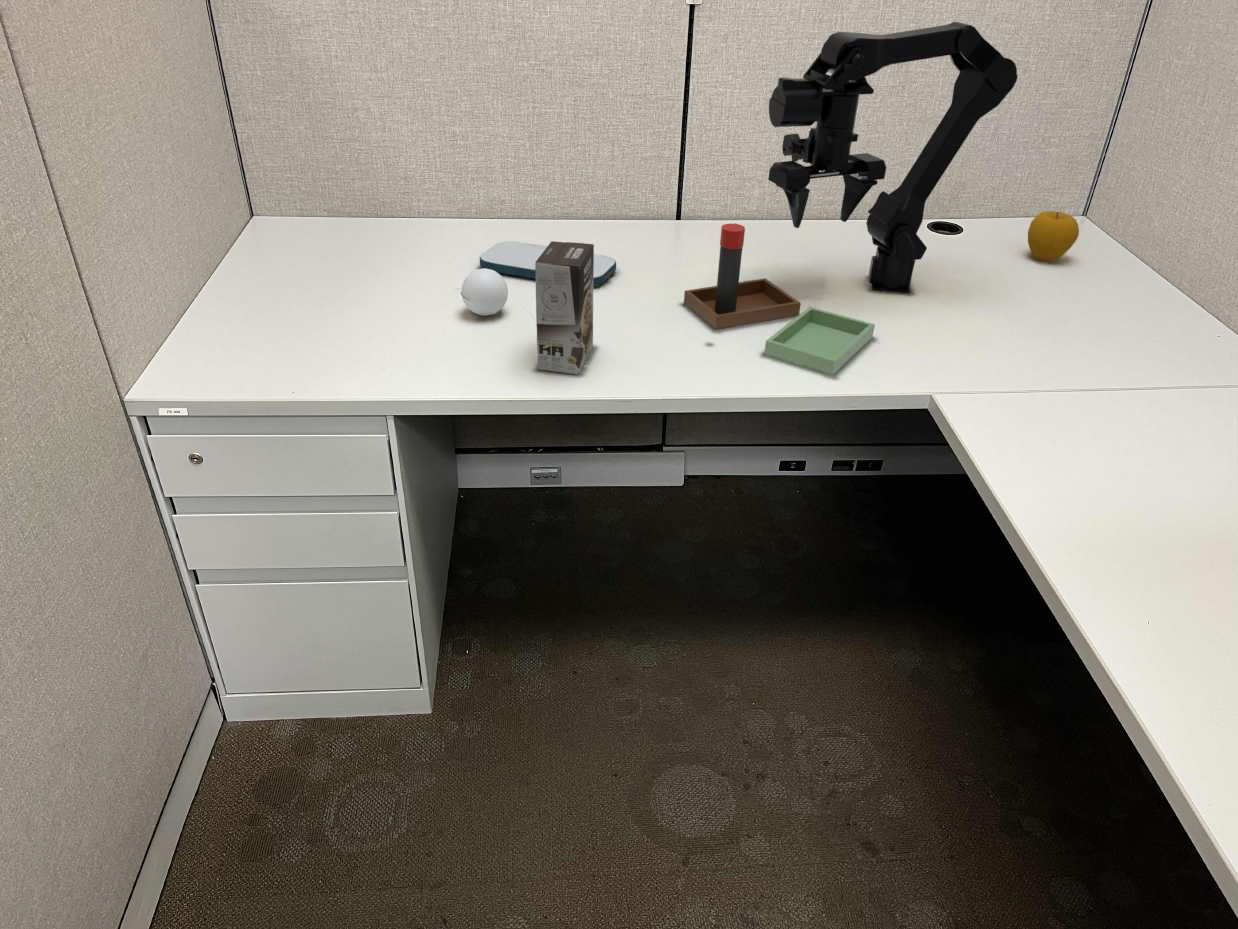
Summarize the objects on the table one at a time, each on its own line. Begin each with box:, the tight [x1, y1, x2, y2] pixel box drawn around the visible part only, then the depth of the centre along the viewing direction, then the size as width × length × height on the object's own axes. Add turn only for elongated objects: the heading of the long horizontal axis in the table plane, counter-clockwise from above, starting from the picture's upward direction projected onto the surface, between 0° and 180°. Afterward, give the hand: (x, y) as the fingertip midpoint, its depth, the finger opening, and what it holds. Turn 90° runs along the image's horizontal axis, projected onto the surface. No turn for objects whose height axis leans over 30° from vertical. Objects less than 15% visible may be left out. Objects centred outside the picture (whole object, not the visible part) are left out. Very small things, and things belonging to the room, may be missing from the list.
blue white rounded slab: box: [479, 241, 617, 287], centre depth 156 cm, size 24×12×2 cm, turn 70°
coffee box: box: [535, 240, 595, 375], centre depth 123 cm, size 9×6×16 cm
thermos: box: [715, 223, 746, 315], centre depth 138 cm, size 4×4×14 cm
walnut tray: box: [683, 277, 802, 331], centre depth 143 cm, size 15×11×2 cm
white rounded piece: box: [456, 267, 509, 317], centre depth 139 cm, size 10×7×7 cm
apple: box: [1027, 210, 1080, 263], centre depth 164 cm, size 9×8×9 cm
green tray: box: [763, 306, 876, 376], centre depth 132 cm, size 15×11×2 cm
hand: (820, 224), depth 144 cm, fingers open, 9 cm apart
